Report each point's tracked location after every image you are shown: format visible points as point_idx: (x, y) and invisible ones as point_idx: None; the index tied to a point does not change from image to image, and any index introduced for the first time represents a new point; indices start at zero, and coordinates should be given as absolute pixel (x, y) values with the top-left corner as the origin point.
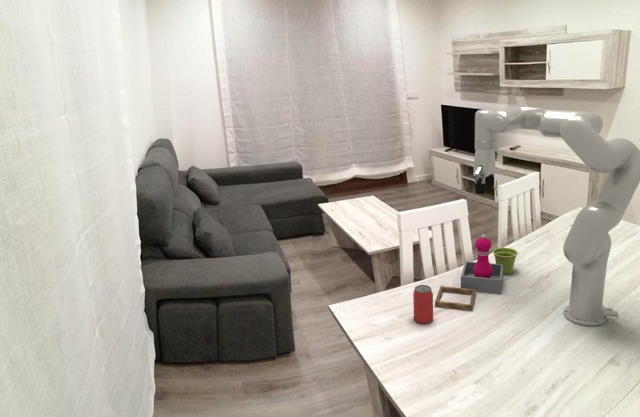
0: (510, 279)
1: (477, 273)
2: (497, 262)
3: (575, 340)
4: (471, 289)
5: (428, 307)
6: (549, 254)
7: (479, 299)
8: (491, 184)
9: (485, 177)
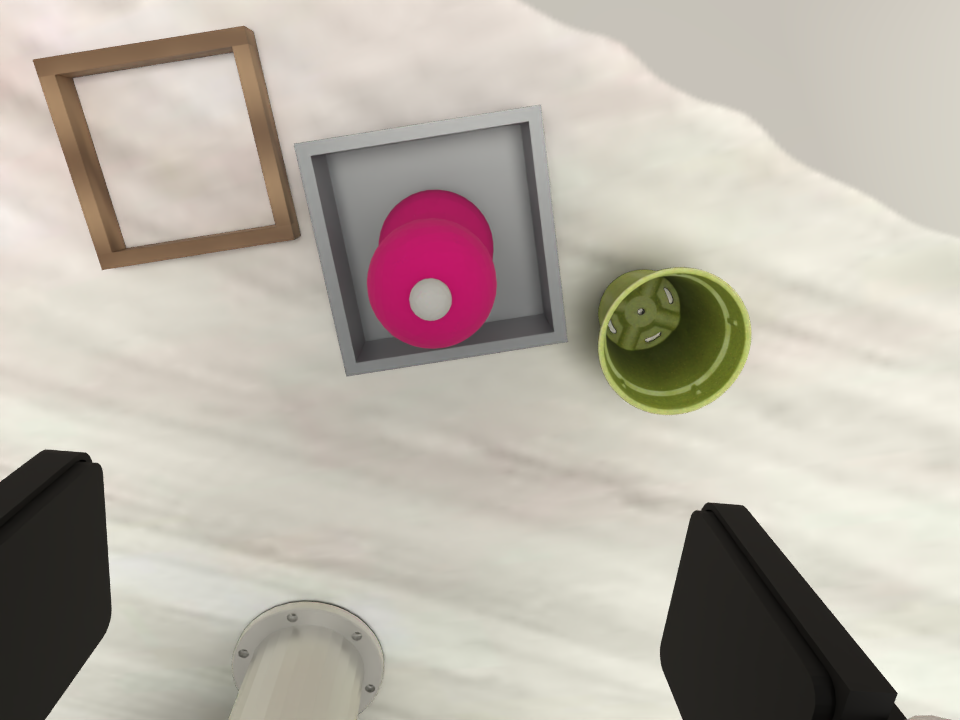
0: (547, 357)
1: (381, 231)
2: (616, 294)
3: (115, 652)
4: (284, 216)
5: None
6: (920, 475)
7: (255, 266)
8: (684, 682)
9: (814, 686)
